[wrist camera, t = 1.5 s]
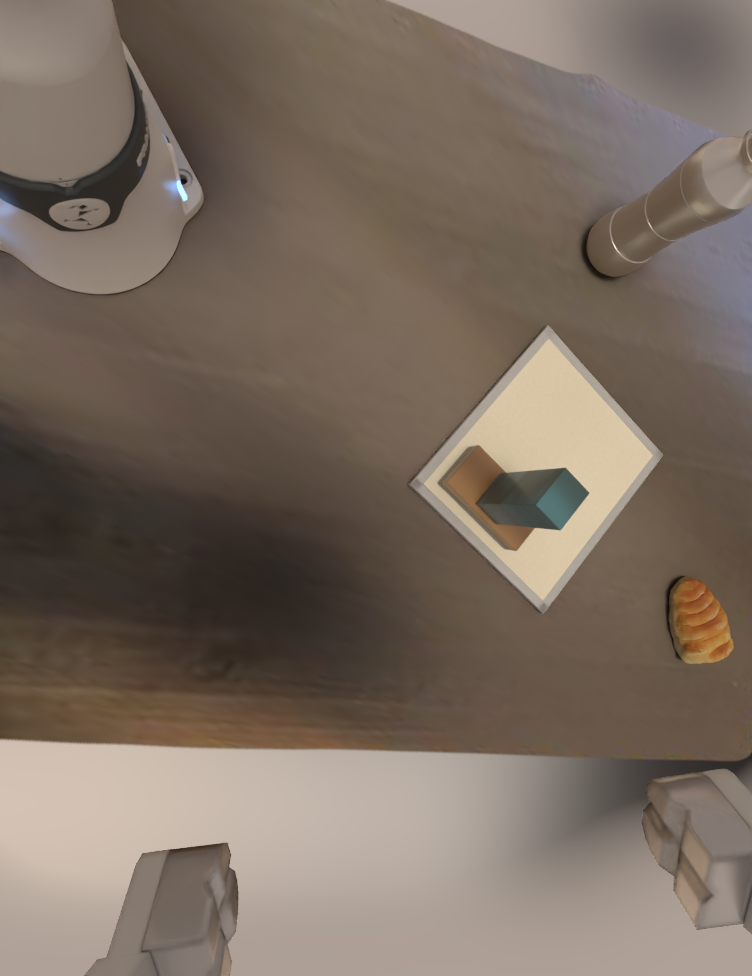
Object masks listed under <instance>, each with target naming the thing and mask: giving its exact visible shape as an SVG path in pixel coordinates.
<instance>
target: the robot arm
mask: <svg viewBox="0 0 752 976" xmlns="http://www.w3.org/2000/svg"><path fill="white" fill-rule="evenodd" d="M181 179H184V180H186V181H187V183H186V184H181ZM203 202H204V195H203V192H202V188H201V186H200V184H199V182H198V180H197V178H196V176H195V174H194V173H193V171H192V169H191V167H190V165H189V163H188V161H187V159H186V158H185V156H184V154H183V152H182V150H181V148H180V146H179V144H178V142H177V141H176V139H175V137H174V135H173V133H172V131H171V129H170V127H169V125H168V124H167V122H166V120H165V118H164V116H163V114H162V112H161V110H160V109H159V107H158V105H157V103H156V101H155V99H154V97H153V95H152V93H151V92H150V90H149V88H148V86H147V84H146V82H145V80H144V78H143V77H142V75H141V73H140V71H139V69H138V67H137V65H136V63H135V61H134V60H133V58H132V56H131V54H130V52H129V50H128V48H127V47H126V45H125V43H124V42H123V41H122V40H121V37H120V33H119V28H118V24H117V20H116V15H115V11H114V7H113V2H112V0H0V250H1V251H4V252H7V253H10V254H11V255H13V256H14V257H16V258H17V259H19V260H20V261H21V262H22V263H24V264H25V265H26V266H27V267H28V268H30V269H31V270H32V271H33V272H35V273H36V274H38V275H39V276H41V277H42V278H44V279H46V280H48V281H49V282H51V283H53V284H56V285H58V286H60V287H63V288H66V289H69V290H72V291H76V292H81V293H88V294H113V293H119V292H123V291H127V290H130V289H133V288H136V287H138V286H140V285H142V284H144V283H146V282H148V281H149V280H151V279H152V278H153V277H155V276H156V275H157V274H158V273H159V272H160V271H161V270H162V269H163V268H164V267H165V266H166V265H167V263H168V262H169V261H170V259H171V258H172V256H173V254H174V252H175V250H176V248H177V245H178V242H179V239H180V236H181V233H182V230H183V228H184V226H185V224H186V223H187V222H188V221H189V220H190V219H191V218H192V217H193V216H194V215H195V214H196V213H197V212H198V210H199V209H200V208H201V206H202V204H203ZM646 795H647V796H648V798H649V799H650V801H651V802H650V803H649V804H648V805H647V807H646V808H645V809H644V810H643V818H642V825H643V830H644V834H645V838H646V841H647V843H648V846H649V848H650V851H651V853H652V854H653V856H654V858H655V859H656V861H657V863H658V865H659V866H661V867H662V868H663V869H665V870H666V871H667V872H669V873H670V874H672V875H673V876H674V892H675V894H676V895H677V897H678V898H679V900H680V902H681V904H682V905H683V907H684V909H685V910H686V912H687V914H688V915H689V917H690V919H691V920H692V922H693V924H694V926H695V927H696V929H697V930H699V929H706V928H714V927H722V926H729V925H737V924H744V926H743V927H744V928H746V929H747V930H748V931H749V932H750V933H751V934H752V794H751V793H750V792H749V791H748V790H747V788H746V787H745V786H744V785H743V784H742V783H741V782H740V780H739V779H738V778H737V777H736V776H735V775H734V774H733V773H732V772H730V771H729V770H727V769H718V770H712V771H706V772H701V773H698V772H694V773H688V774H682V775H676V776H670V777H664V778H658V779H652V780H651V781H650V782H649V783H648V784H647V789H646ZM230 857H231V853H230V850H229V847H228V843H221V844H213V845H204V846H196V847H188V848H180V849H170V850H163V851H156V852H149V853H143V854H142V855H141V857H140V859H139V860H138V862H137V864H136V866H135V869H134V873H133V875H132V879H131V882H130V885H129V888H128V892H127V894H126V898H125V901H124V904H123V907H122V910H121V913H120V916H119V920H118V923H117V926H116V929H115V932H114V935H113V938H112V941H111V945H110V948H109V951H108V954H107V957H106V958H103V959H98V960H97V961H96V962H95V963H94V964H93V965H92V967H91V968H90V969H89V970H88V972H87V973H86V974H85V975H84V976H230V972H231V964H232V960H231V956H230V953H229V948H228V943H229V941H230V940H231V938H232V937H233V935H234V934H235V932H236V925H237V916H238V885H237V878H236V874H235V871H234V870H232V869H231V868H229V864H230Z"/></svg>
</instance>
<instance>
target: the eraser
mask: <svg viewBox="0 0 752 976" xmlns="http://www.w3.org/2000/svg"><path fill="white" fill-rule="evenodd" d="M438 485H440V486H441V487H442V488H443V489H444V490H445V491H446V492H447V493H448V494H449V495H450V496H451V497H452V498H453V499H454V500H455V501H456V502H457V503H458V504H459V505H460V506H461V507H462V508H463V509H464V510H465V511H466V512H467V513H468V514H469V515H470V516H471V517H472V518H473V519H474V520H475V521H476V522H477V523H478V524H479V525H480V526H481V527H482V528H483V529H484V530H485V531H486V532H487V533H488V534H489V535H490V536H491V537H492V538H493V539H494V540H495V541H496V542H497V543H498V544H499V545H500V546H501V547H503V548H504V549H506V550H512V551H517V550H518V549H519V548H520V546H521V545H522V544H523V543H524V541H525V540H526V539H527V537H528V536H529V535H530V534H531V532H532V531H533V530H534V529H535V528H541V529H551V530H561V529H562V528H563V527H564V526H565V524H566V523H567V522H568V520H569V519H570V518H571V517H572V515H573V514H574V513H575V511H576V510H577V509H578V508H579V506H580V505H581V504H582V502H583V501H584V500H585V499H586V497H587V496H588V495H589V492H588V491H587V490H586V489H585V488H584V486H583V485H582V484H581V483H580V482H579V481H578V480H577V479H576V478H575V477H574V476H573V475H572V474H571V473H570V472H569V471H568V470H567V468H556V469H544V470H533V471H521V472H510V473H506V472H505V471H504V470H503V469H502V468H501V467H500V466H499V465H498V464H497V463H496V462H495V461H494V460H493V459H492V458H491V457H490V456H489V455H488V454H487V453H486V452H485V451H484V450H483V449H482V448H481V446H480V445H477V446H471V447H468V448H467V449H466V450H465V451H464V452H463V454H462V455H461V456H460V457H459V458H458V459H457V461H456V462H455V463H454V464H453V465H452V466H451V468H450V469H449V470H448V471H447V472H446V473H445V475H444V476H443V477H442V478H441V479H440V480H439V482H438Z"/></svg>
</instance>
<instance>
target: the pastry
mask: <svg viewBox="0 0 752 976" xmlns="http://www.w3.org/2000/svg"><path fill="white" fill-rule="evenodd" d="M669 597H670V600H669V605H670V610H669V615H668V617H669V623H670V630H671V635H672V637H673V640H674V647H675V650H676V651H677V653H678V654H679V656H680V657H681V659H682V661H684V662H686V663H691V664H695V663H697V664H700V663H704V662H707V663H712V662H716V661H719V660H721V659H724V658H725V657H728V655H729V653H730V652H731V651H732V650H733V648H734V646H733V641H732V639H731V637H730V628H729V624H728V623H727V616H726V614H725V612H724V611H723V609H722V607H721V606H720V604H719V602H718V601H717V600H716V599H715V597H714V595H713V594H712V593H711V592H710V591H709V589H708V588H707V587H706V586H705V585H704V583H702V582H701V581H699V580H695V579H692V578H690V577H684V578H682V579H680V580H679V581H678V582H677V583H676V584H675V585H674V586H673V588H672V589H671V592H670V595H669Z"/></svg>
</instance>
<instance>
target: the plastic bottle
mask: <svg viewBox="0 0 752 976" xmlns="http://www.w3.org/2000/svg"><path fill="white" fill-rule="evenodd" d="M751 201H752V129H751V130H749V131H748V132H747V133H746V134H745V136H744V137H722V138H717V139H714V140H712V141H709V142H706V143H704V144H703V145H701V146H700V147H699V148H698V149H696V150H695V151H694V152H693V153H692V154H691V155H690V156H689V157H688V158H687V159H685V160H684V161H683V162H682V163H681V164H680V165H679V166H678V167H677V168H676V169H675V170H674V171H673V172H672V173H671V174H670V175H669V176H667V177H666V178H665V179H664V180H662V181H661V182H660V183H659V184H657V185H656V186H655V187H654V188H652V189H651V190H650V191H648V192H647V193H646V194H644V195H642V196H641V197H639V198H637V199H636V200H634V201H632V202H630V203H629V204H627V205H625V206H622V207H620V208H617V209H615V210H613V211H611V212H609V213H607V214H606V215H604V216H603V217H602V218H600V219H599V221H598V222H597V223H596V224H595V225H594V226H593V227H592V229H591V230H590V233H589V235H588V240H587V255H588V258H589V260H590V262H591V264H592V265H593V267H594V268H595V269H596V270H597V271H599V272H600V273H602V274H605V275H607V276H612V277H619V276H622V275H625V274H629V273H632V272H634V271H635V270H637V269H638V268H639V267H641V266H642V265H643V264H645V263H646V262H647V261H648V260H649V259H650V258H651V257H652V256H654V255H655V254H657V253H658V252H660V251H661V250H662V249H664V248H665V247H667V246H668V245H670V244H671V243H673V242H675V241H677V240H679V239H681V238H683V237H685V236H687V235H689V234H691V233H693V232H696V231H698V230H701V229H703V228H706V227H709V226H711V225H714V224H717V223H719V222H722V221H725V220H727V219H729V218H731V217H734V216H736V215H737V214H739V213H740V212H741V211H742V210H743V209H744V208H745V207H746V206H747V205H748V204H749V203H750V202H751Z"/></svg>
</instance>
